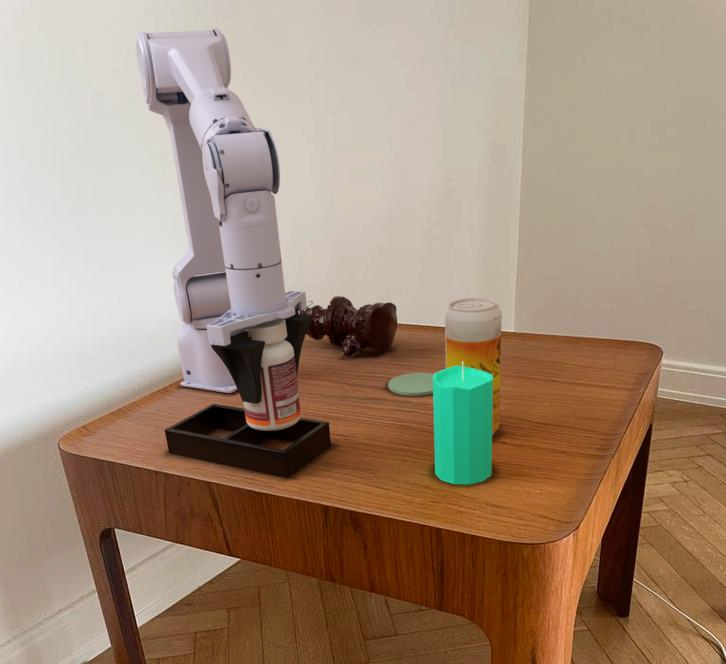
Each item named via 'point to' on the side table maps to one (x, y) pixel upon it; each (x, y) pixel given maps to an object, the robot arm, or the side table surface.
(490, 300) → the beer can
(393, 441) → the side table surface
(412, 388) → the mat
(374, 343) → the figurine
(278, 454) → the tray
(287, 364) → the pill bottle
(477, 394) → the candle
